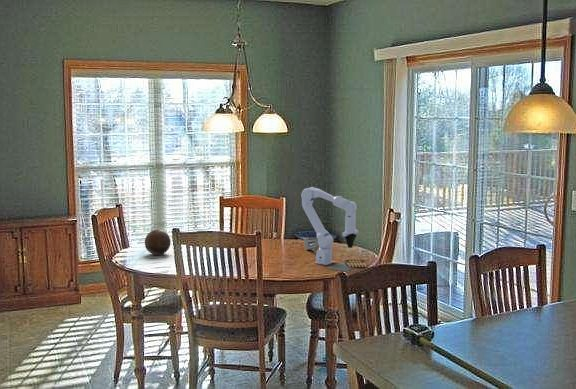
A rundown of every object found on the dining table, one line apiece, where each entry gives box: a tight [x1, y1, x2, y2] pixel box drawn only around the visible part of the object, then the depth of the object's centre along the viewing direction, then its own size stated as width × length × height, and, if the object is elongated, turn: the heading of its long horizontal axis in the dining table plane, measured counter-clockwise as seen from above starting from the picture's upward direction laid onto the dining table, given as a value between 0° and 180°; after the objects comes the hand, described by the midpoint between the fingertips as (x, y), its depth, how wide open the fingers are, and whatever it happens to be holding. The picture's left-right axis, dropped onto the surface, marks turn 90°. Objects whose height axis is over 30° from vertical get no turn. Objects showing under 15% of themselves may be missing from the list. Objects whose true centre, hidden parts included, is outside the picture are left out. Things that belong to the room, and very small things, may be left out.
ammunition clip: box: [344, 259, 368, 268], centre depth 367 cm, size 11×2×12 cm
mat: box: [326, 262, 359, 272], centre depth 364 cm, size 17×12×1 cm
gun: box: [303, 238, 319, 254], centre depth 402 cm, size 3×25×15 cm, turn 19°
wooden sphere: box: [144, 229, 171, 256], centre depth 392 cm, size 15×15×15 cm
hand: (350, 247), depth 368 cm, fingers closed
